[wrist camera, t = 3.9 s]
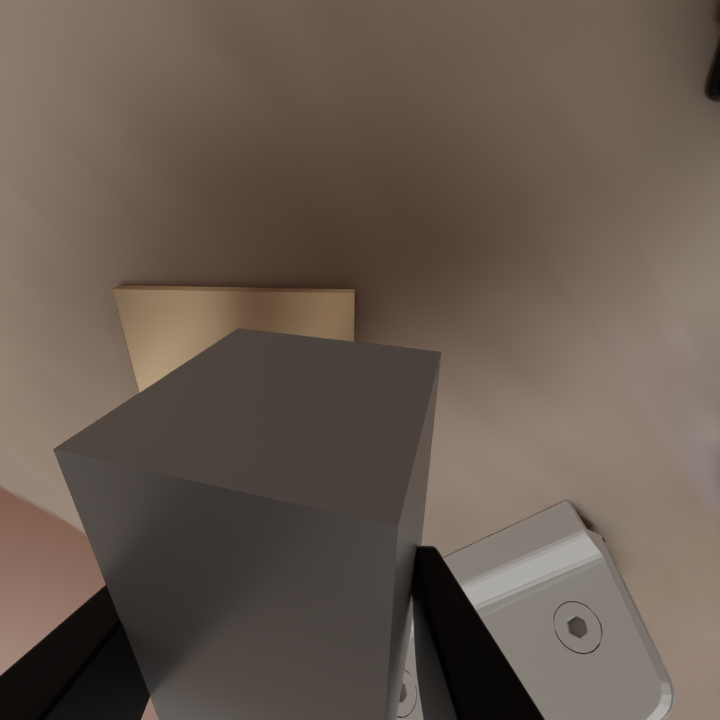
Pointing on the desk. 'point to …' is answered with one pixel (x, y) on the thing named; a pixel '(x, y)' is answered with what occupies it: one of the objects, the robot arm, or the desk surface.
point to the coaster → (221, 319)
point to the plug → (265, 524)
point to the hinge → (559, 622)
